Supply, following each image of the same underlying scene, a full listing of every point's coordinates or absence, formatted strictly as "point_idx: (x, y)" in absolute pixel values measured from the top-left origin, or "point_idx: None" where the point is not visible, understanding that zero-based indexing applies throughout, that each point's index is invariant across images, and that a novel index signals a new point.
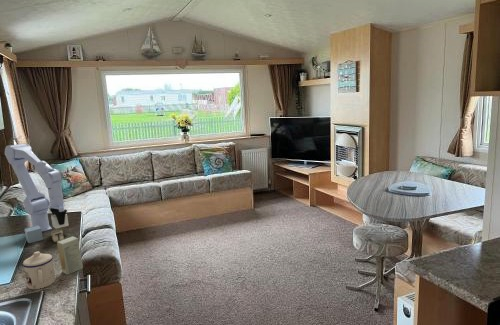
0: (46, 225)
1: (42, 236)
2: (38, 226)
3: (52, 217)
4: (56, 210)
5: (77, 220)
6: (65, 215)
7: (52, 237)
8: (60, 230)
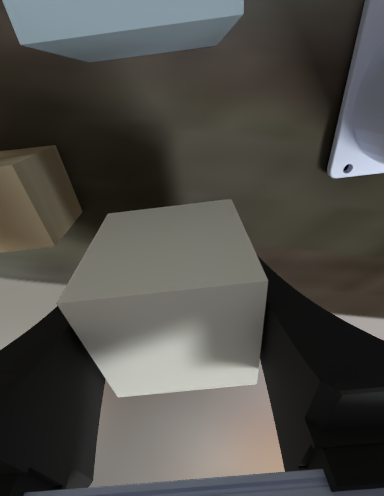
0: (379, 146)
1: (77, 58)
2: (173, 5)
3: (160, 278)
4: (282, 391)
5: (343, 312)
6: (115, 382)
7: (14, 153)
8: (10, 243)
